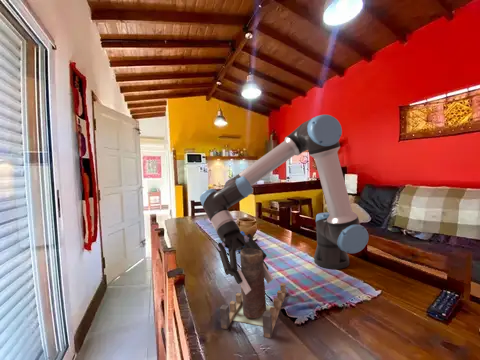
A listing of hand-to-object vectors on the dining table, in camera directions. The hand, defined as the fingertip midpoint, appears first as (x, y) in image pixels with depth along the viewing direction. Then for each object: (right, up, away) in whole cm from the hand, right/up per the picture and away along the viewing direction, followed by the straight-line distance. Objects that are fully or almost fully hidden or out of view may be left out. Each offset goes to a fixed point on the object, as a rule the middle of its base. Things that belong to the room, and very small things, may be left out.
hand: (259, 286), depth 74 cm
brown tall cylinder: (-1, -10, +3) cm, 11 cm away
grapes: (-5, -7, +58) cm, 59 cm away
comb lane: (0, -10, +6) cm, 12 cm away
